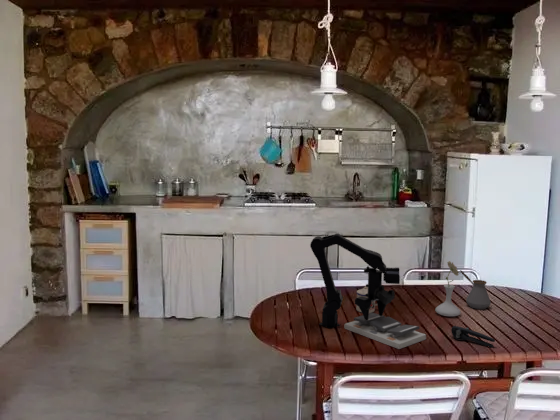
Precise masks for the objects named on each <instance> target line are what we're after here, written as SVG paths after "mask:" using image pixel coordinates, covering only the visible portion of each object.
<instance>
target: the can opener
mask: <svg viewBox="0 0 560 420" xmlns="http://www.w3.org/2000/svg"><path fill="white" fill-rule="evenodd" d="M450 332H451V334H452V336H453V338H454V339H456V341H457V340H458V341H471V342H474V343H476V344H478V345H480V344H481V346H483V345H485V346H484V347H486V346H489V347H488V348H491V347H493V348H494V344H492V343H494V342H496V340H495V338H493V337H490V336H488V335H486V334H483V333H480V332H478V331H475V330H472V329H469V327H462V326H456V325H454V326H452V327H451V331H450ZM487 341H489V342H492V343H489V342H487Z"/></svg>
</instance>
